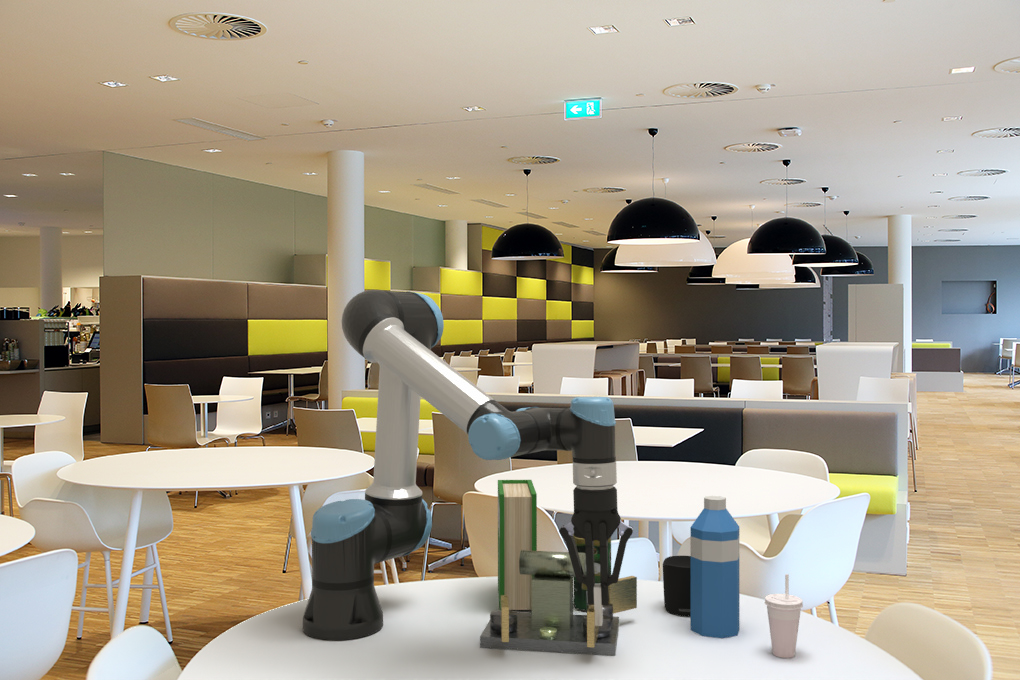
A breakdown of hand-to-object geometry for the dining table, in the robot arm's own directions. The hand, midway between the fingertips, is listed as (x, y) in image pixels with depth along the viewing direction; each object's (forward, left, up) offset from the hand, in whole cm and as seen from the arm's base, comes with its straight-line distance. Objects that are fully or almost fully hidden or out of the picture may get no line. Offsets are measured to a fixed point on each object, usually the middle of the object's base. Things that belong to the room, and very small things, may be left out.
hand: (598, 623), depth 151 cm
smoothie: (+32, +7, -6) cm, 33 cm away
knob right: (-1, +3, -4) cm, 5 cm away
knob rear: (+2, +17, -4) cm, 17 cm away
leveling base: (-9, +10, -6) cm, 15 cm away
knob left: (-17, +3, -4) cm, 18 cm away
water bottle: (+21, +18, -6) cm, 28 cm away
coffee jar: (-3, +29, -6) cm, 30 cm away
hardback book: (-19, +31, -6) cm, 37 cm away
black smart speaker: (+16, +30, -6) cm, 34 cm away
